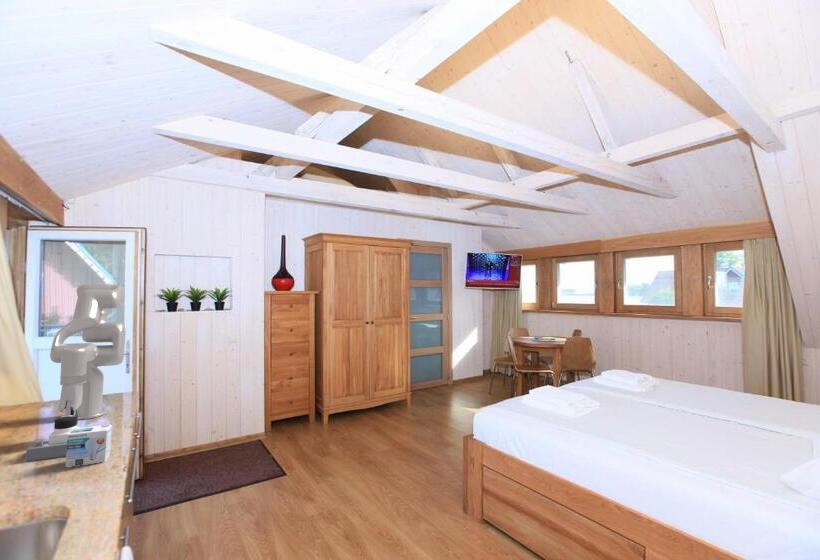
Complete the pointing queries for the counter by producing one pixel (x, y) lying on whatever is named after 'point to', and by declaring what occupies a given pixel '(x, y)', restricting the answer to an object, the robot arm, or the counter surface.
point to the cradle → (45, 451)
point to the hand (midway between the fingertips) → (71, 426)
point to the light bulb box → (88, 445)
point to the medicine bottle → (62, 429)
